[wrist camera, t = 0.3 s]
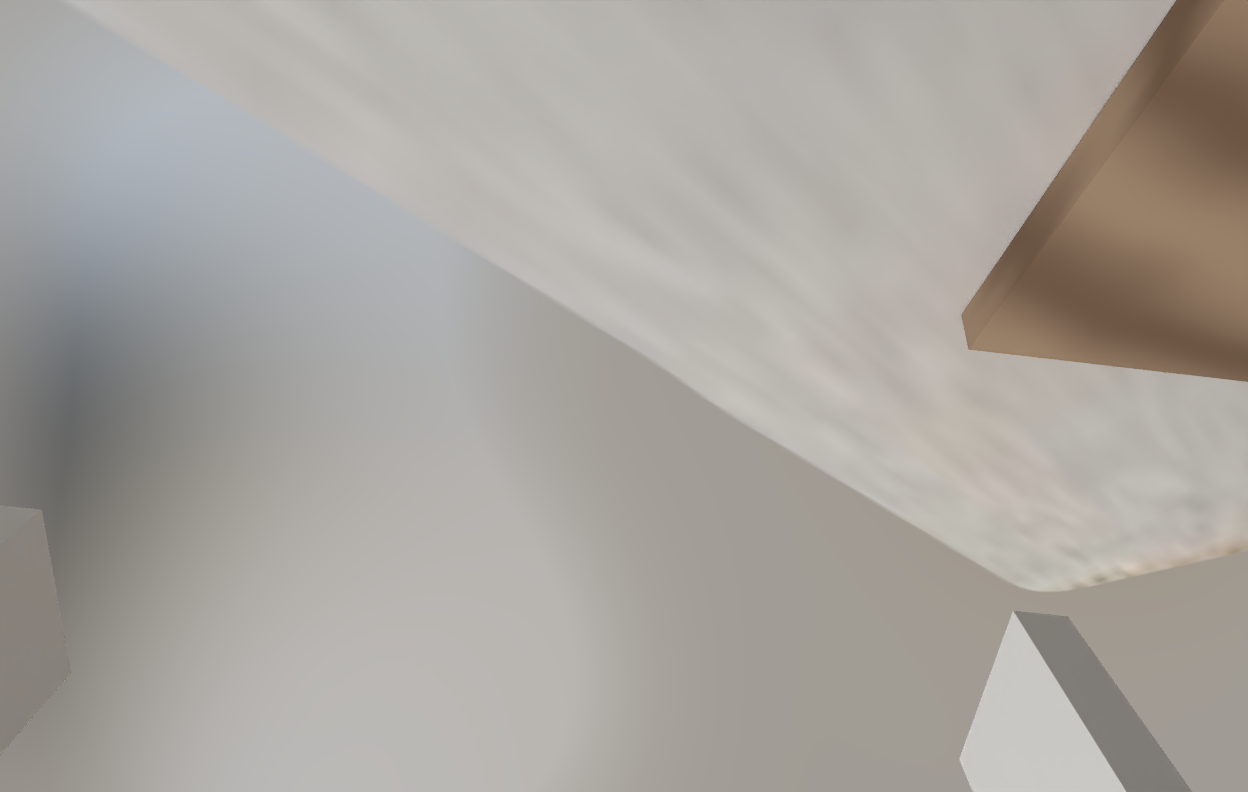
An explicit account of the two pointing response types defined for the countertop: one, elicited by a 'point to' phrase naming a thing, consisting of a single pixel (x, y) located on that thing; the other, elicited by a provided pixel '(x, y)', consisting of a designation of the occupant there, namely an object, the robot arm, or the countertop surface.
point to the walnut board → (1142, 219)
